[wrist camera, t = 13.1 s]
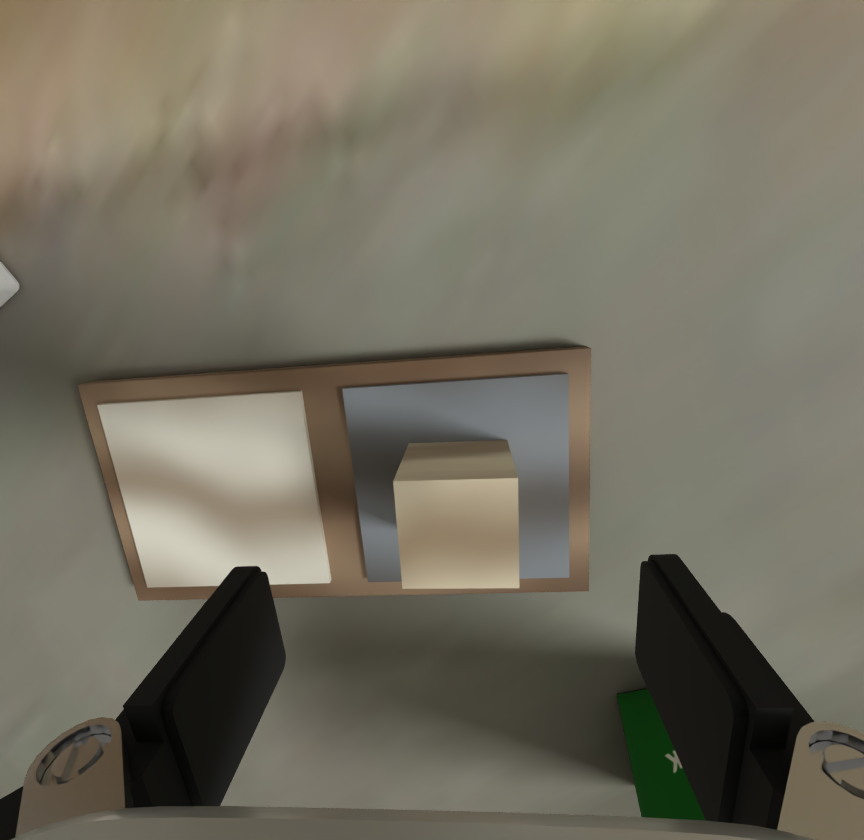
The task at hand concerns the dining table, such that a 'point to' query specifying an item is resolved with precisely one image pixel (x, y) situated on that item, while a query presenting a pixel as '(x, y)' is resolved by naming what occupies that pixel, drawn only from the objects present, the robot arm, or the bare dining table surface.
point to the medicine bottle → (7, 284)
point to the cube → (458, 515)
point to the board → (334, 468)
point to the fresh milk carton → (655, 761)
